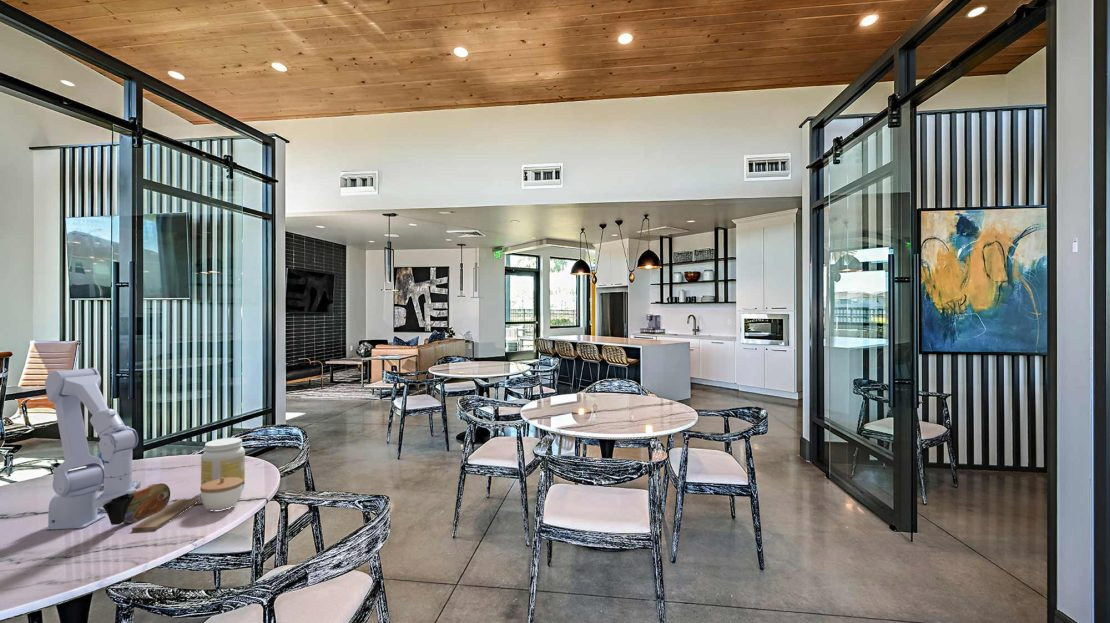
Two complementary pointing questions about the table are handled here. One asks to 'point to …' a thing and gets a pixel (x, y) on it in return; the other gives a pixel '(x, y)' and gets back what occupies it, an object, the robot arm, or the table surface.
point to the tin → (147, 502)
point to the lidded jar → (221, 493)
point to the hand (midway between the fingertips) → (117, 523)
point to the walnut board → (164, 515)
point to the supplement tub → (223, 460)
